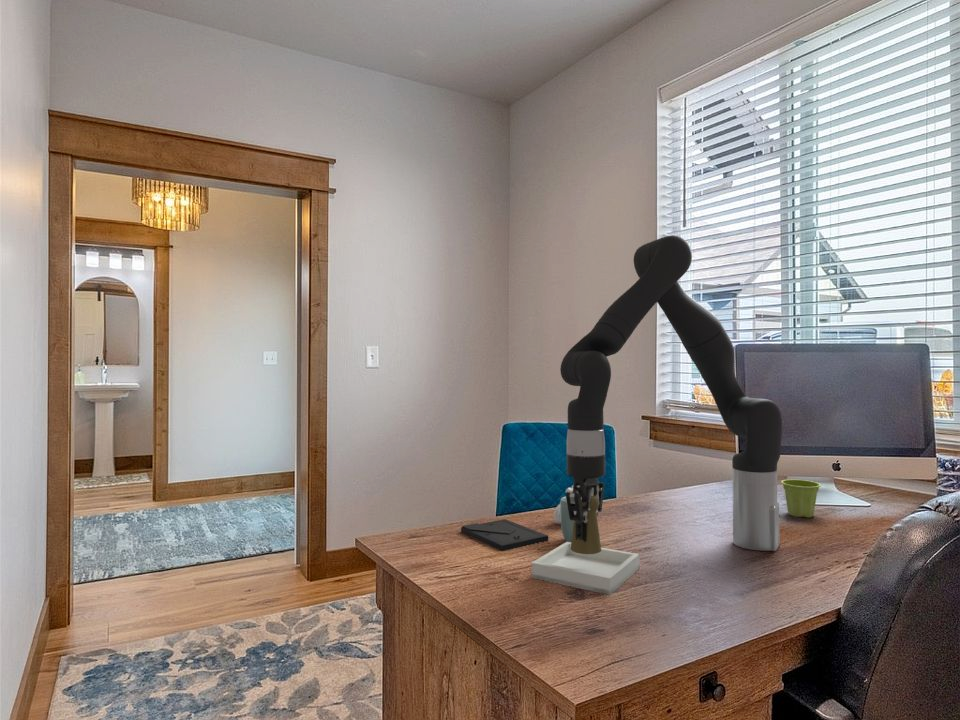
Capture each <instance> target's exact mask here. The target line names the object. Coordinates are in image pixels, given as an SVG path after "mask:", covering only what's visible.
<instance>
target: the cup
mask: <svg viewBox="0 0 960 720" xmlns="http://www.w3.org/2000/svg"><path fill="white" fill-rule="evenodd" d="M559 504H560V516H561V523H560V528H561V534H562V537H563V539H564V540H565V542H571V541H572V533H573V525H574V521H572V520H570V518H569V511H568V505H567V499H566V495H565V496H563V497H561V498H560V502H559Z"/></svg>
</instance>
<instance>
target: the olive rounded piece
mask: <svg viewBox="0 0 960 720" xmlns="http://www.w3.org/2000/svg"><path fill="white" fill-rule="evenodd" d="M581 503H582V506H586V505H587V501H586V502H581ZM598 507H599V500H598V498H597V496H595V495H593V497H592V499H591V503H590V508H591V510H590V511H588V521H587V541H586V542H584V540H580V539H577V540H576V522H574V525H573V533H572V541H571V550H572V551H573V552H576V553H580V554H596V553H599V552H601V548H602V545H601V538H600V530H599V523H598V517H597V514H596V510H597V509H598ZM583 514H584V511H583Z"/></svg>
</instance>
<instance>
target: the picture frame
mask: <svg viewBox="0 0 960 720" xmlns="http://www.w3.org/2000/svg"><path fill="white" fill-rule="evenodd" d="M460 532H461V534H463V535H466V536H468V537H469V538H472V539H474V540H477V541H478V542H481V543H484V544H486V545H487V546H490V547H492V548H494V549H496V550H497V551H498V550H499V551H501V552H504V551H510V550H514V548H515V549H519V548H524V547H527V545H528V546H532V545H531V544H533V545H536V544H535V543H537V544H540V543H539V542H542V543H545V542H544V541H547V542H549V535H548V534H545V533H542V532H540V531H537V530H534V529H532V528H530V527H526V526H524V525H522V524H519V523H516V522H514V521H512V520H508V519H498V520H493V521H488V522H482V523H471V524H470V523H469V524H465V525H461V527H460ZM523 546H524V547H523ZM518 547H519V548H518Z"/></svg>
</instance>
